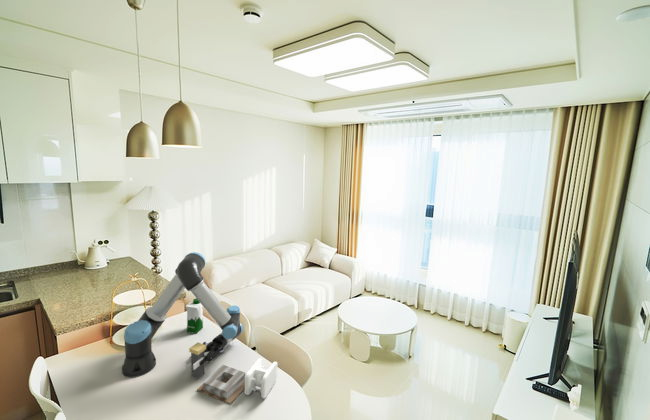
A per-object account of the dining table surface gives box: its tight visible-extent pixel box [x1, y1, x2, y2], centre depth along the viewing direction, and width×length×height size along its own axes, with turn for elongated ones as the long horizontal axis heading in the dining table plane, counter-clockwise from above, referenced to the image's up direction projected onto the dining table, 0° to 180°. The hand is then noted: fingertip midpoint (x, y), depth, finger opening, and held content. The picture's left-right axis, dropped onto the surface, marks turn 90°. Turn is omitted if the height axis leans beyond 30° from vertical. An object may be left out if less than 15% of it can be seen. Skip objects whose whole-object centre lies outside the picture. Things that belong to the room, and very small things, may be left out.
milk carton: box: [185, 297, 204, 334], centre depth 190 cm, size 9×9×20 cm
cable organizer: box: [244, 357, 278, 399], centre depth 144 cm, size 15×11×12 cm
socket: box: [196, 364, 246, 405], centre depth 145 cm, size 20×16×5 cm
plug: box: [188, 342, 206, 380], centre depth 150 cm, size 6×6×16 cm
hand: (189, 365), depth 145 cm, fingers closed on plug, 4 cm apart
